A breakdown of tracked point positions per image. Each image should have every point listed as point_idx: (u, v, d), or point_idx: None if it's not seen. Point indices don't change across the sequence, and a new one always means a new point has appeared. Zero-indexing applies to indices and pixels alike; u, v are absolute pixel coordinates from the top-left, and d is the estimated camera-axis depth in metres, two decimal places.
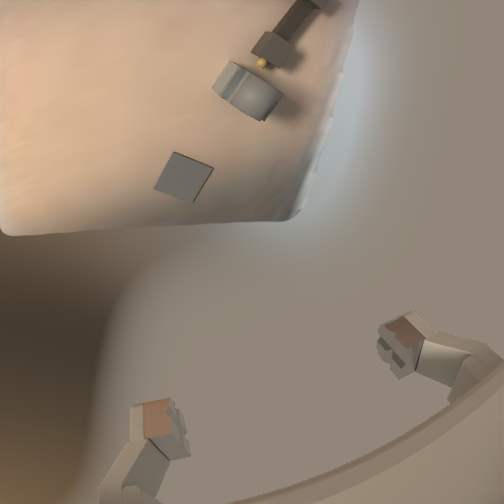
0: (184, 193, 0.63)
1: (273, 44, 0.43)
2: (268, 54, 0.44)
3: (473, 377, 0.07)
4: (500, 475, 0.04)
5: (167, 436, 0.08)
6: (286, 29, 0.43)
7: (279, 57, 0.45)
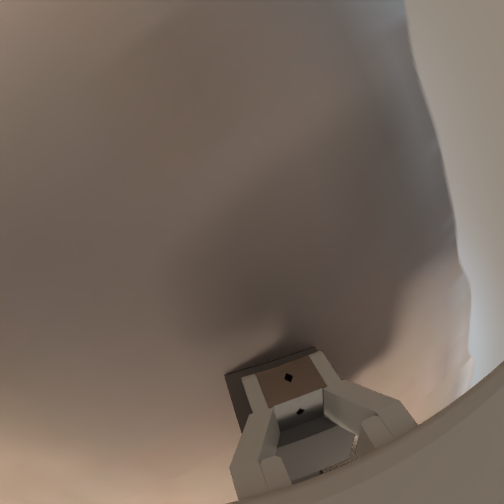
0: None
1: None
2: None
3: (370, 442, 0.07)
4: (500, 475, 0.04)
5: (291, 401, 0.09)
6: None
7: None
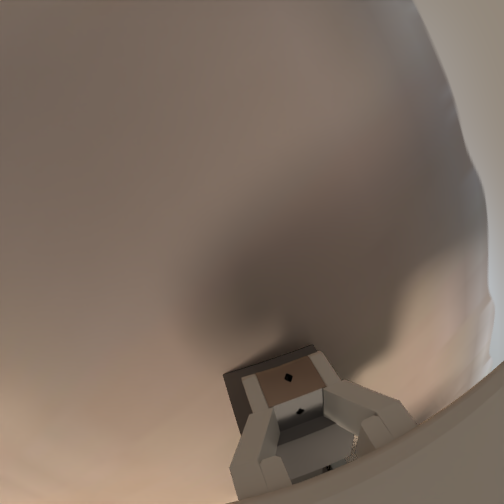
0: None
1: None
2: None
3: (370, 442, 0.07)
4: (500, 475, 0.04)
5: (291, 401, 0.09)
6: None
7: None
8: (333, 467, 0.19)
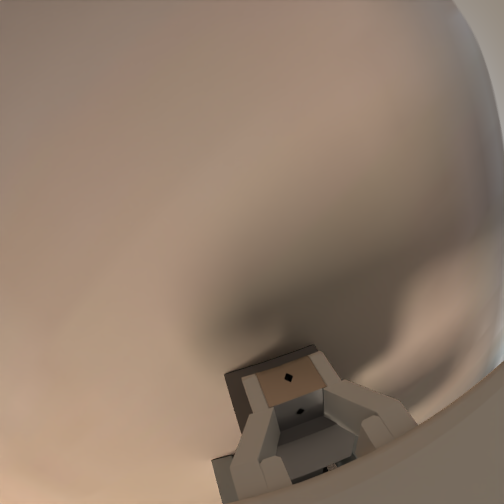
0: None
1: None
2: None
3: (370, 442, 0.07)
4: (500, 475, 0.04)
5: (291, 401, 0.09)
6: None
7: None
8: None
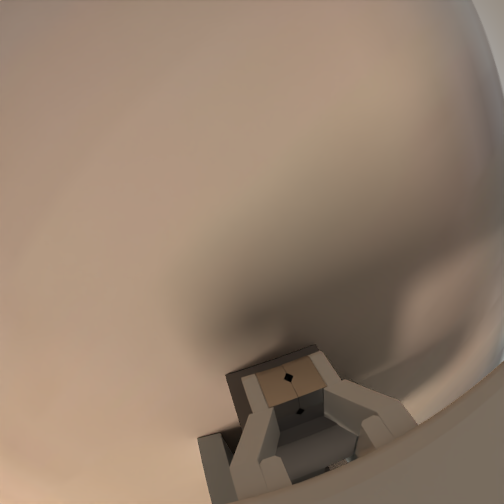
0: None
1: None
2: None
3: (370, 442, 0.07)
4: (500, 475, 0.04)
5: (291, 402, 0.09)
6: None
7: None
8: None
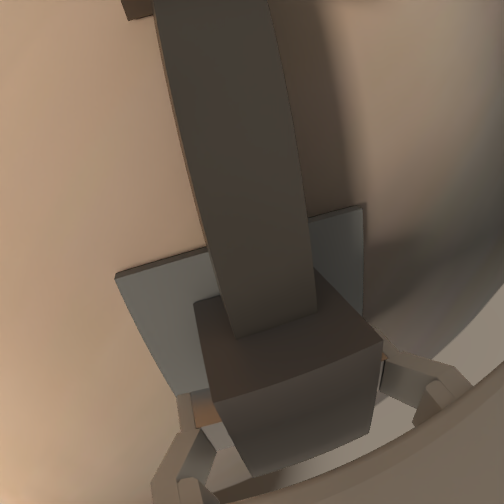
0: None
1: (268, 430, 0.08)
2: (288, 454, 0.08)
3: (435, 404, 0.07)
4: (500, 475, 0.04)
5: (219, 424, 0.08)
6: (257, 262, 0.08)
7: (346, 423, 0.09)
8: None
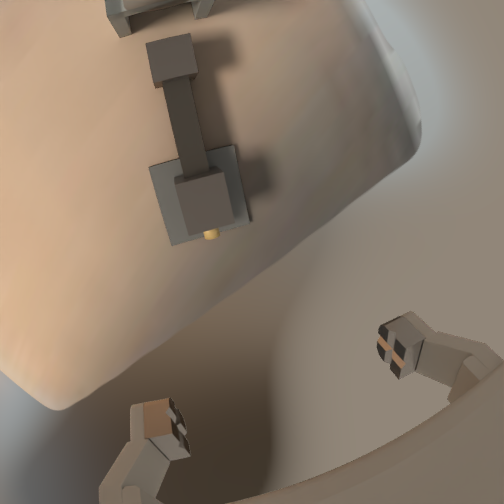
0: None
1: (191, 202, 0.27)
2: (200, 221, 0.28)
3: (473, 377, 0.07)
4: (500, 475, 0.04)
5: (167, 436, 0.08)
6: (189, 153, 0.28)
7: (220, 209, 0.28)
8: None
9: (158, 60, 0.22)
